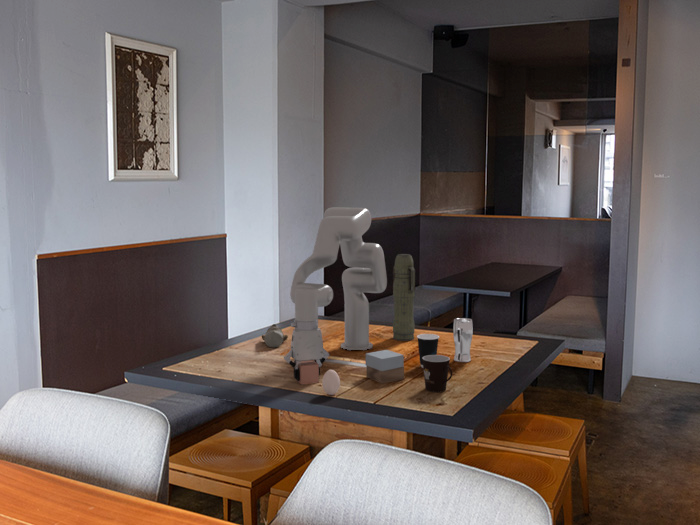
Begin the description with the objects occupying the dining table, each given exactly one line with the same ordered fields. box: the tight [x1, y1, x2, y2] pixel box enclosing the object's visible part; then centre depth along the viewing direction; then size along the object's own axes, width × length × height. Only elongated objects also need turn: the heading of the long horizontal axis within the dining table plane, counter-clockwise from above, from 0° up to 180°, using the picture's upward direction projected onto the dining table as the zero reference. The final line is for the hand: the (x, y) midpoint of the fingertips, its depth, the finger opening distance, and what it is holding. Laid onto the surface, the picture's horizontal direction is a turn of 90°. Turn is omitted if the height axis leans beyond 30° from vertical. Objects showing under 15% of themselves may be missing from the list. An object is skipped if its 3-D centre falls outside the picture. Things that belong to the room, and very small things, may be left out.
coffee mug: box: [422, 354, 453, 393], centre depth 223 cm, size 12×9×10 cm
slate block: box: [365, 349, 405, 371], centre depth 237 cm, size 9×9×4 cm
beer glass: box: [452, 317, 474, 363], centre depth 260 cm, size 7×7×15 cm
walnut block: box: [365, 365, 405, 384], centre depth 238 cm, size 9×9×4 cm
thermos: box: [392, 253, 416, 342], centre depth 294 cm, size 9×12×35 cm
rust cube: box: [297, 360, 320, 385], centre depth 235 cm, size 6×6×6 cm
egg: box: [321, 369, 341, 396], centre depth 220 cm, size 6×6×8 cm
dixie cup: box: [416, 333, 440, 369], centre depth 251 cm, size 8×8×11 cm
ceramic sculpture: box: [261, 323, 289, 349], centre depth 285 cm, size 11×9×15 cm
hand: (307, 378), depth 235 cm, fingers closed on rust cube, 6 cm apart
